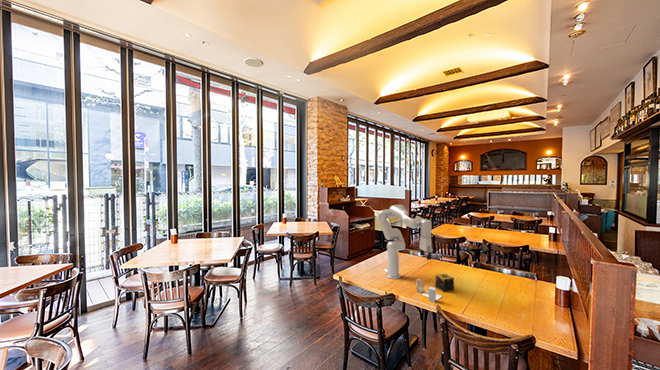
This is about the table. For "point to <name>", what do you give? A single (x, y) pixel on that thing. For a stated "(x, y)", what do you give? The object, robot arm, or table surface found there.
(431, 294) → the bluegrey block
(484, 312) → the table surface
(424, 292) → the mat
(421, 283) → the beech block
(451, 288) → the candle
